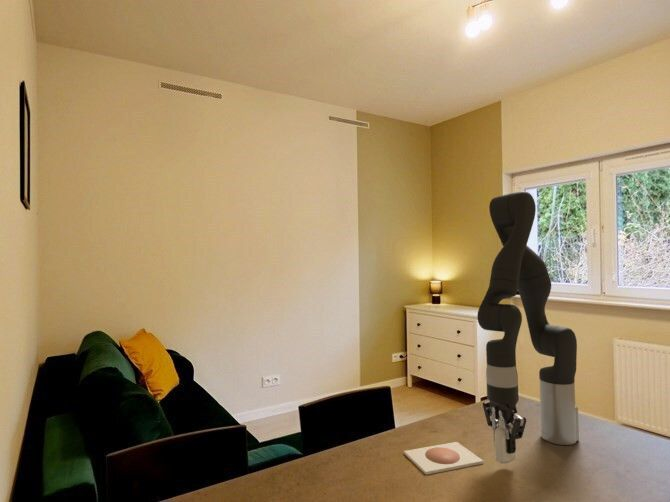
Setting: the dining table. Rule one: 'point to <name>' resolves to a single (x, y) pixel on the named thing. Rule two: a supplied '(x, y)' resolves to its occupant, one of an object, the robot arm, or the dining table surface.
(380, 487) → the dining table surface
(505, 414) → the robot arm
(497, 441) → the eye dropper bottle
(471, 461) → the card
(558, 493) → the dining table surface
